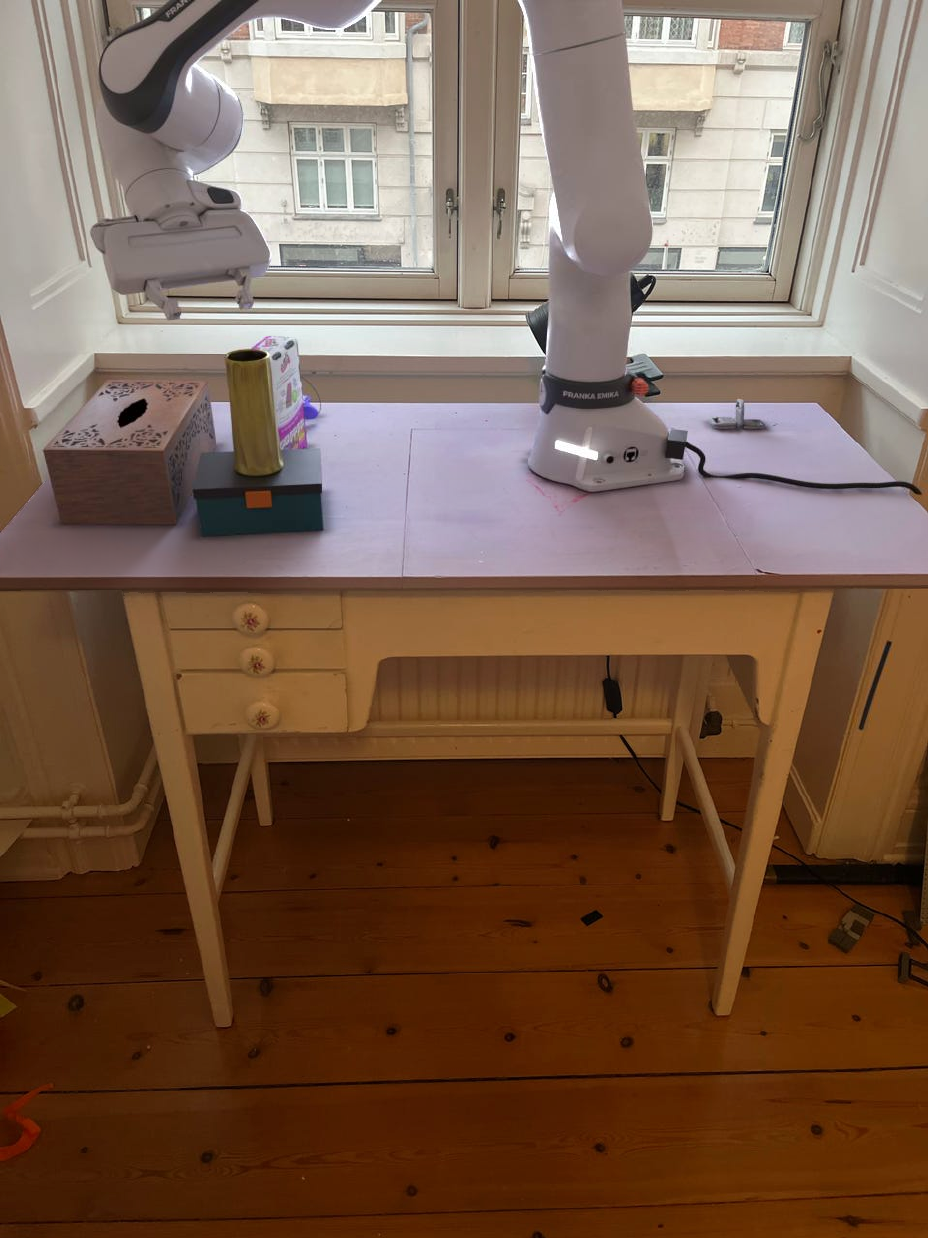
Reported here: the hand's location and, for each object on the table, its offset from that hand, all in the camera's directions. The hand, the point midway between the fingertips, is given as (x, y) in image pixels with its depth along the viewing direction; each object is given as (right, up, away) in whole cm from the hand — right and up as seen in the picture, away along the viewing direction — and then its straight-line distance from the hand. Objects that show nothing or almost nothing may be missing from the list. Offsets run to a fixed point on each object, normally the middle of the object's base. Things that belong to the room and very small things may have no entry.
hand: (212, 311), depth 114 cm
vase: (+5, -19, +4) cm, 20 cm away
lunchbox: (+5, -24, +7) cm, 26 cm away
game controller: (+3, -7, +34) cm, 35 cm away
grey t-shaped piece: (+75, -6, +37) cm, 84 cm away
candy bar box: (+4, -14, +22) cm, 27 cm away
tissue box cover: (-13, -19, +15) cm, 27 cm away
